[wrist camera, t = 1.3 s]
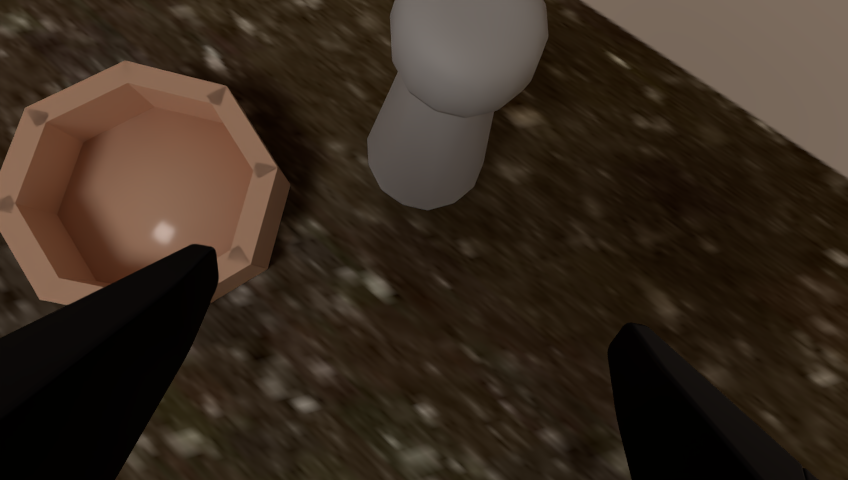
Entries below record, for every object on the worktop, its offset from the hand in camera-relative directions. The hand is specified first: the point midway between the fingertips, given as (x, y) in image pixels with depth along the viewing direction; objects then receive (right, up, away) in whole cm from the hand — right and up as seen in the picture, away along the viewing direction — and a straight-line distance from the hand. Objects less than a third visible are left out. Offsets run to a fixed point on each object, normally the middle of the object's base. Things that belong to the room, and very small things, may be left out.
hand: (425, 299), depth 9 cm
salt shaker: (0, +5, +14) cm, 15 cm away
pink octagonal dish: (-13, +3, +12) cm, 18 cm away
